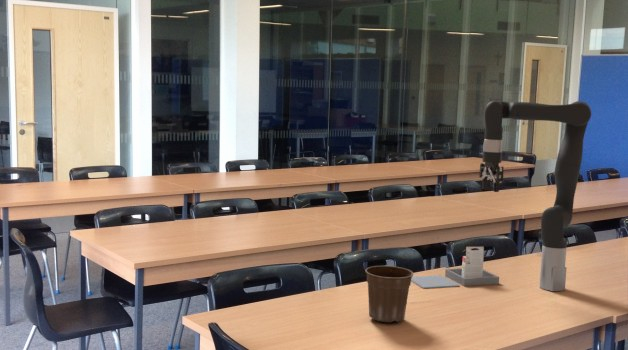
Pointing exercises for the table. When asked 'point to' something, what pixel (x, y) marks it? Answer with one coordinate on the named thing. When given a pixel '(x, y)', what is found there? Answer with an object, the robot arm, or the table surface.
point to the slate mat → (433, 281)
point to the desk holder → (484, 280)
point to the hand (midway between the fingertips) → (490, 190)
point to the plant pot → (388, 292)
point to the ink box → (473, 263)
